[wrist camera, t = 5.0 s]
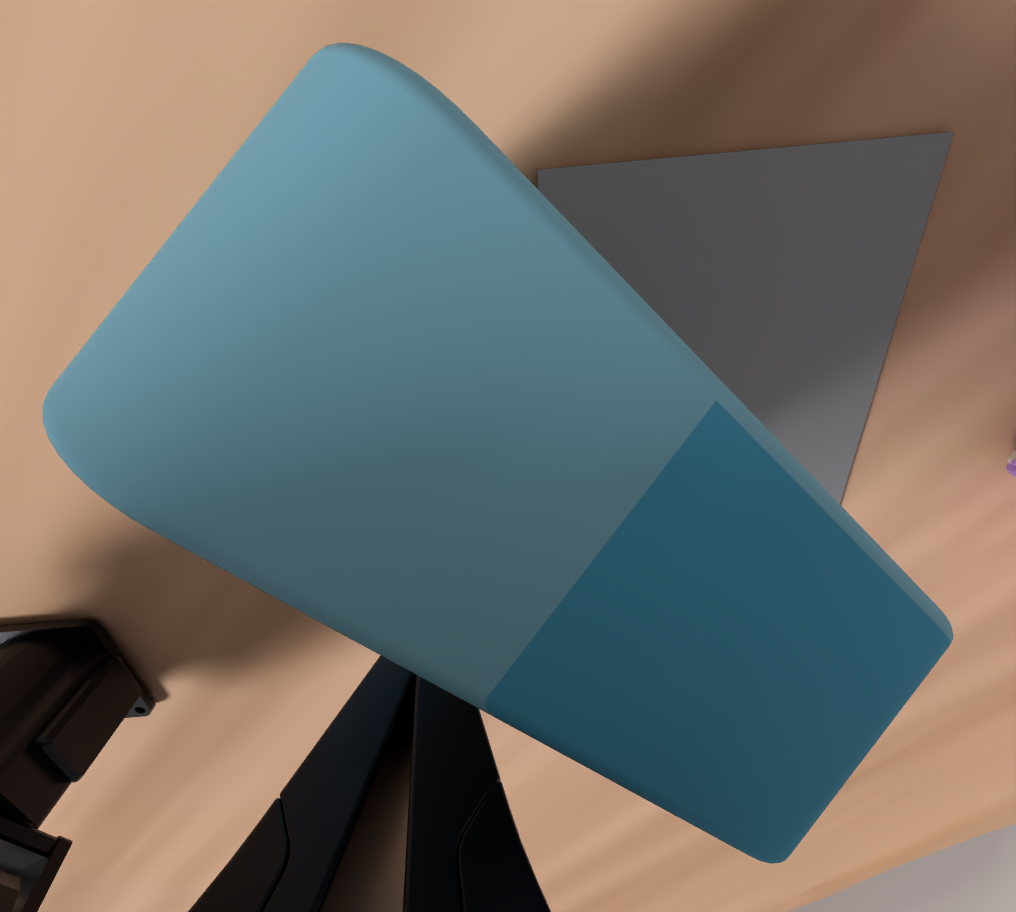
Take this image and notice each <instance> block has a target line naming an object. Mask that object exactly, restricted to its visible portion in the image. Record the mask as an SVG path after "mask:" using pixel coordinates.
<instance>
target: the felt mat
mask: <svg viewBox="0 0 1016 912" xmlns="http://www.w3.org/2000/svg"><path fill="white" fill-rule="evenodd" d="M953 134H954V132H945V133H934V134H923V135H912V136H901V137H890V138H879V139H868V140H857V141H846V142H835V143H824V144H813V145H802V146H791V147H780V148H769V149H758V150H747V151H736V152H725V153H714V154H703V155H693V156H682V157H671V158H660V159H649V160H638V161H627V162H616V163H605V164H594V165H583V166H572V167H561V168H550V169H539V170H537V184H538V190H539V191H540V192H541V193H542V194H543V195H544V197H545V198H546V199H547V200H548V201H549V202H550V203H551V204H552V205H553V206H554V207H555V208H556V209H557V210H558V211H559V212H560V213H561V214H562V215H563V216H564V217H565V218H566V219H567V221H568V222H569V223H570V224H571V225H572V226H573V227H574V228H575V229H576V230H577V231H578V232H579V233H580V234H581V235H582V236H583V237H584V238H585V239H586V240H587V241H588V242H589V243H590V245H591V246H592V247H593V248H594V249H595V250H596V251H597V252H598V253H599V254H600V255H601V256H602V257H603V258H604V259H605V260H606V261H607V262H608V263H609V264H610V265H611V266H612V267H613V269H614V270H615V271H616V272H617V273H618V274H619V275H620V276H621V277H622V278H623V279H624V280H625V281H626V282H627V283H628V284H629V285H630V286H631V287H632V288H633V289H634V290H635V291H636V292H637V294H638V295H639V296H640V297H641V298H642V299H643V300H644V301H645V302H646V303H647V304H648V305H649V306H650V307H651V308H652V309H653V310H654V311H655V312H656V313H657V314H658V315H659V316H660V318H661V319H662V320H663V321H664V322H665V323H666V324H667V325H668V326H669V327H670V328H671V329H672V330H673V331H674V332H675V333H676V334H677V335H678V336H679V337H680V338H681V339H682V340H683V342H684V343H685V344H686V345H687V346H688V347H689V348H690V349H691V350H692V351H693V352H694V353H695V354H696V355H697V356H698V357H699V358H700V359H701V360H702V361H703V362H704V363H705V364H706V366H707V367H708V368H709V369H710V370H711V371H712V372H713V373H714V374H715V375H716V376H717V377H718V378H719V379H720V380H721V381H722V382H723V383H724V384H725V385H726V386H727V387H728V388H729V390H730V391H731V392H732V393H733V394H734V395H735V396H736V397H737V398H738V399H739V400H740V401H741V402H742V403H743V404H744V405H745V406H746V407H747V408H748V409H749V410H750V411H751V412H752V414H753V415H754V416H755V417H756V418H757V419H758V420H759V421H760V422H761V423H762V424H763V425H764V426H765V427H766V428H767V429H768V430H769V431H770V432H771V433H772V434H773V435H774V436H775V438H776V439H777V440H778V441H779V442H780V443H781V444H782V445H783V446H784V447H785V448H786V449H787V450H788V451H789V452H790V453H791V454H792V455H793V456H794V457H795V458H796V459H797V460H798V462H799V463H800V464H801V465H802V466H803V467H804V468H805V469H806V470H807V471H808V472H809V473H810V474H811V475H812V476H813V477H814V478H815V479H816V480H817V481H818V482H819V483H820V484H821V486H822V487H823V488H824V489H825V490H826V491H827V492H828V493H829V494H830V495H831V496H832V497H833V498H834V499H835V500H836V501H837V502H838V503H839V504H840V502H841V499H842V496H843V493H844V489H845V486H846V483H847V480H848V476H849V473H850V470H851V466H852V463H853V460H854V457H855V453H856V450H857V447H858V444H859V440H860V437H861V434H862V431H863V427H864V424H865V421H866V418H867V414H868V411H869V408H870V405H871V401H872V398H873V395H874V392H875V388H876V385H877V382H878V378H879V375H880V372H881V369H882V365H883V362H884V359H885V356H886V352H887V349H888V346H889V343H890V339H891V336H892V333H893V330H894V326H895V323H896V320H897V317H898V313H899V310H900V307H901V304H902V300H903V297H904V294H905V291H906V287H907V284H908V281H909V277H910V274H911V271H912V268H913V264H914V261H915V258H916V255H917V251H918V248H919V245H920V242H921V238H922V235H923V232H924V229H925V225H926V222H927V219H928V216H929V212H930V209H931V206H932V203H933V199H934V196H935V193H936V190H937V186H938V183H939V180H940V176H941V173H942V170H943V167H944V163H945V160H946V157H947V154H948V150H949V147H950V144H951V141H952V137H953Z"/></svg>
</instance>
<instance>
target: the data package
mask: <svg viewBox="0 0 1016 912" xmlns="http://www.w3.org/2000/svg"><path fill="white" fill-rule="evenodd" d="M43 424H44V427H45V430H46V432H47V435H48V438H49V440H50V442H51V443H52V445H53V447H54V448H55V450H56V451H57V453H58V455H59V456H60V457H61V459H62V460H63V461H64V462H65V463H66V464H67V466H68V467H69V468H70V469H71V470H72V472H73V473H74V474H76V475H77V476H78V477H79V478H80V479H81V480H82V481H83V482H84V483H85V484H86V485H87V486H88V487H89V488H90V489H92V490H93V491H94V492H95V493H97V494H98V495H99V496H100V497H102V498H103V499H104V500H106V501H107V502H108V503H109V504H111V505H112V506H114V507H115V508H117V509H118V510H120V511H121V512H123V513H124V514H125V515H127V516H128V517H130V518H131V519H133V520H135V521H137V522H138V523H140V524H142V525H143V526H145V527H147V528H148V529H150V530H152V531H154V532H155V533H157V534H159V535H161V536H163V537H165V538H166V539H168V540H170V541H172V542H174V543H176V544H177V545H179V546H181V547H183V548H185V549H187V550H188V551H190V552H192V553H194V554H196V555H198V556H199V557H201V558H203V559H205V560H207V561H209V562H210V563H212V564H214V565H216V566H218V567H220V568H222V569H223V570H225V571H227V572H229V573H231V574H233V575H234V576H236V577H238V578H240V579H242V580H244V581H245V582H247V583H249V584H251V585H253V586H255V587H256V588H258V589H260V590H262V591H264V592H266V593H267V594H269V595H271V596H273V597H275V598H277V599H278V600H280V601H282V602H284V603H286V604H288V605H290V606H291V607H293V608H295V609H297V610H299V611H301V612H302V613H304V614H306V615H308V616H310V617H312V618H313V619H315V620H317V621H319V622H321V623H323V624H324V625H326V626H328V627H330V628H332V629H334V630H335V631H337V632H339V633H341V634H343V635H345V636H346V637H348V638H350V639H352V640H354V641H356V642H358V643H359V644H361V645H363V646H365V647H367V648H369V649H370V650H372V651H374V652H376V653H378V654H380V655H381V656H383V657H385V658H387V659H389V660H391V661H392V662H394V663H396V664H398V665H400V666H402V667H403V668H405V669H407V670H409V671H411V672H413V673H414V674H416V675H418V676H420V677H422V678H424V679H426V680H427V681H429V682H431V683H433V684H435V685H437V686H438V687H440V688H442V689H444V690H446V691H448V692H449V693H451V694H453V695H455V696H457V697H459V698H460V699H462V700H464V701H466V702H468V703H470V704H471V705H473V706H475V707H477V708H479V709H481V710H482V711H484V712H486V713H488V714H490V715H492V716H494V717H495V718H497V719H499V720H501V721H503V722H505V723H506V724H508V725H510V726H512V727H514V728H516V729H517V730H519V731H521V732H523V733H525V734H527V735H528V736H530V737H532V738H534V739H536V740H538V741H539V742H541V743H543V744H545V745H547V746H549V747H550V748H552V749H554V750H556V751H558V752H560V753H562V754H563V755H565V756H567V757H569V758H571V759H573V760H574V761H576V762H578V763H580V764H582V765H584V766H585V767H587V768H589V769H591V770H593V771H595V772H596V773H598V774H600V775H602V776H604V777H606V778H607V779H609V780H611V781H613V782H615V783H617V784H618V785H620V786H622V787H624V788H626V789H628V790H630V791H631V792H633V793H635V794H637V795H639V796H641V797H642V798H644V799H646V800H648V801H650V802H652V803H653V804H655V805H657V806H659V807H661V808H663V809H664V810H666V811H668V812H670V813H672V814H674V815H675V816H677V817H679V818H681V819H683V820H685V821H686V822H688V823H690V824H692V825H694V826H696V827H697V828H699V829H701V830H703V831H705V832H707V833H709V834H710V835H712V836H714V837H716V838H718V839H720V840H721V841H723V842H725V843H727V844H729V845H731V846H732V847H734V848H736V849H738V850H740V851H742V852H743V853H745V854H747V855H749V856H751V857H753V858H755V859H757V860H760V861H763V862H767V863H780V862H783V861H785V860H786V859H787V858H788V857H789V856H790V854H791V853H792V852H793V850H794V849H795V848H796V847H797V845H798V844H799V843H800V841H801V840H802V839H803V837H804V836H805V835H806V833H807V832H808V831H809V829H810V828H811V827H812V826H813V824H814V823H815V822H816V820H817V819H818V818H819V816H820V815H821V814H822V812H823V811H824V810H825V808H826V807H827V806H828V805H829V803H830V802H831V801H832V799H833V798H834V797H835V795H836V794H837V793H838V791H839V790H840V789H841V787H842V786H843V785H844V783H845V782H846V781H847V780H848V778H849V777H850V776H851V774H852V773H853V772H854V770H855V769H856V768H857V766H858V765H859V764H860V762H861V761H862V760H863V759H864V757H865V756H866V755H867V753H868V752H869V751H870V749H871V748H872V747H873V745H874V744H875V743H876V741H877V740H878V739H879V737H880V736H881V735H882V734H883V732H884V731H885V730H886V728H887V727H888V726H889V724H890V723H891V722H892V720H893V719H894V718H895V716H896V715H897V714H898V713H899V711H900V710H901V709H902V707H903V706H904V705H905V703H906V702H907V701H908V699H909V698H910V697H911V695H912V694H913V693H914V692H915V690H916V689H917V688H918V686H919V685H920V684H921V682H922V681H923V680H924V678H925V677H926V676H927V674H928V673H929V672H930V670H931V669H932V668H933V667H934V665H935V664H936V663H937V661H938V660H939V659H940V657H941V656H942V655H943V653H944V652H945V651H946V649H947V648H948V647H949V645H950V644H951V642H952V640H953V631H952V627H951V624H950V622H949V621H948V619H947V617H946V616H945V615H944V613H943V612H942V611H941V610H940V609H939V608H938V607H937V606H936V604H935V603H934V602H933V601H932V600H931V599H930V598H929V597H928V596H927V595H926V594H925V593H924V592H923V591H922V590H921V589H920V588H919V587H918V586H917V585H916V584H915V583H914V582H913V580H912V579H911V578H910V577H909V576H908V575H907V574H906V573H905V572H904V571H903V570H902V569H901V568H900V567H899V566H898V565H897V564H896V563H895V562H894V561H893V560H892V559H891V558H890V556H889V555H888V554H887V553H886V552H885V551H884V550H883V549H882V548H881V547H880V546H879V545H878V544H877V543H876V542H875V541H874V540H873V539H872V538H871V537H870V536H869V535H868V534H867V532H866V531H865V530H864V529H863V528H862V527H861V526H860V525H859V524H858V523H857V522H856V521H855V520H854V519H853V518H852V517H851V516H850V515H849V514H848V513H847V512H846V511H845V510H844V508H843V507H842V506H841V505H840V504H839V503H838V502H837V501H836V500H835V499H834V498H833V497H832V496H831V495H830V494H829V493H828V492H827V491H826V490H825V489H824V488H823V487H822V486H821V484H820V483H819V482H818V481H817V480H816V479H815V478H814V477H813V476H812V475H811V474H810V473H809V472H808V471H807V470H806V469H805V468H804V467H803V466H802V465H801V464H800V463H799V462H798V460H797V459H796V458H795V457H794V456H793V455H792V454H791V453H790V452H789V451H788V450H787V449H786V448H785V447H784V446H783V445H782V444H781V443H780V442H779V441H778V440H777V439H776V438H775V436H774V435H773V434H772V433H771V432H770V431H769V430H768V429H767V428H766V427H765V426H764V425H763V424H762V423H761V422H760V421H759V420H758V419H757V418H756V417H755V416H754V415H753V414H752V412H751V411H750V410H749V409H748V408H747V407H746V406H745V405H744V404H743V403H742V402H741V401H740V400H739V399H738V398H737V397H736V396H735V395H734V394H733V393H732V392H731V391H730V390H729V388H728V387H727V386H726V385H725V384H724V383H723V382H722V381H721V380H720V379H719V378H718V377H717V376H716V375H715V374H714V373H713V372H712V371H711V370H710V369H709V368H708V367H707V366H706V364H705V363H704V362H703V361H702V360H701V359H700V358H699V357H698V356H697V355H696V354H695V353H694V352H693V351H692V350H691V349H690V348H689V347H688V346H687V345H686V344H685V343H684V342H683V340H682V339H681V338H680V337H679V336H678V335H677V334H676V333H675V332H674V331H673V330H672V329H671V328H670V327H669V326H668V325H667V324H666V323H665V322H664V321H663V320H662V319H661V318H660V316H659V315H658V314H657V313H656V312H655V311H654V310H653V309H652V308H651V307H650V306H649V305H648V304H647V303H646V302H645V301H644V300H643V299H642V298H641V297H640V296H639V295H638V294H637V292H636V291H635V290H634V289H633V288H632V287H631V286H630V285H629V284H628V283H627V282H626V281H625V280H624V279H623V278H622V277H621V276H620V275H619V274H618V273H617V272H616V271H615V270H614V269H613V267H612V266H611V265H610V264H609V263H608V262H607V261H606V260H605V259H604V258H603V257H602V256H601V255H600V254H599V253H598V252H597V251H596V250H595V249H594V248H593V247H592V246H591V245H590V243H589V242H588V241H587V240H586V239H585V238H584V237H583V236H582V235H581V234H580V233H579V232H578V231H577V230H576V229H575V228H574V227H573V226H572V225H571V224H570V223H569V222H568V221H567V219H566V218H565V217H564V216H563V215H562V214H561V213H560V212H559V211H558V210H557V209H556V208H555V207H554V206H553V205H552V204H551V203H550V202H549V201H548V200H547V199H546V198H545V197H544V195H543V194H542V193H541V192H540V191H539V190H538V189H537V188H536V187H535V186H534V185H533V184H532V183H531V182H530V181H529V180H528V179H527V178H526V177H525V176H524V175H523V174H522V173H521V171H520V170H519V169H518V168H517V167H516V166H515V165H514V164H513V163H512V162H511V161H510V160H509V159H508V158H507V157H506V156H505V155H504V154H503V153H502V152H501V151H500V150H499V149H498V147H497V146H496V145H495V144H494V143H493V142H492V141H491V140H490V139H489V138H488V137H487V136H486V135H485V134H484V133H483V132H482V131H481V130H480V129H479V128H478V127H477V126H476V125H475V124H474V123H473V122H472V121H471V120H470V119H469V118H468V117H467V116H466V115H465V114H464V113H463V112H462V111H461V110H460V109H459V108H458V107H457V106H456V105H455V104H454V103H453V102H452V101H451V100H449V99H448V98H447V97H446V96H445V95H444V94H443V93H441V92H440V91H439V90H438V89H437V88H436V87H434V86H433V85H432V84H430V83H429V82H428V81H426V80H425V79H424V78H422V77H421V76H420V75H419V74H417V73H416V72H414V71H413V70H411V69H409V68H408V67H406V66H405V65H403V64H402V63H400V62H398V61H397V60H395V59H393V58H391V57H389V56H387V55H385V54H383V53H381V52H379V51H376V50H373V49H371V48H368V47H365V46H362V45H356V44H349V43H338V44H333V45H328V46H326V47H324V48H322V49H321V50H319V51H318V52H317V53H315V54H314V55H313V56H312V57H311V58H310V60H309V61H308V62H307V64H306V65H305V66H304V67H303V69H302V70H301V71H300V72H299V74H298V75H297V76H296V77H295V79H294V80H293V81H292V83H291V84H290V85H289V86H288V88H287V89H286V90H285V91H284V93H283V94H282V95H281V96H280V98H279V99H278V100H277V102H276V103H275V104H274V105H273V107H272V108H271V109H270V110H269V112H268V113H267V114H266V115H265V117H264V118H263V119H262V121H261V122H260V123H259V124H258V126H257V127H256V128H255V129H254V131H253V132H252V133H251V135H250V136H249V137H248V138H247V140H246V141H245V142H244V143H243V145H242V146H241V147H240V148H239V150H238V151H237V152H236V154H235V155H234V156H233V157H232V159H231V160H230V161H229V162H228V164H227V165H226V166H225V167H224V169H223V170H222V171H221V173H220V174H219V175H218V176H217V178H216V179H215V180H214V181H213V183H212V184H211V185H210V186H209V188H208V189H207V190H206V192H205V193H204V194H203V195H202V197H201V198H200V199H199V200H198V202H197V203H196V204H195V205H194V207H193V208H192V209H191V211H190V212H189V213H188V214H187V216H186V217H185V218H184V219H183V221H182V222H181V223H180V225H179V226H178V227H177V228H176V230H175V231H174V232H173V233H172V235H171V236H170V237H169V238H168V240H167V241H166V242H165V244H164V245H163V246H162V247H161V249H160V250H159V251H158V252H157V254H156V255H155V256H154V257H153V259H152V260H151V261H150V263H149V264H148V265H147V266H146V268H145V269H144V270H143V271H142V273H141V274H140V275H139V276H138V278H137V279H136V280H135V282H134V283H133V284H132V285H131V287H130V288H129V289H128V290H127V292H126V293H125V294H124V295H123V297H122V298H121V299H120V301H119V302H118V303H117V304H116V306H115V307H114V308H113V309H112V311H111V312H110V313H109V314H108V316H107V317H106V318H105V320H104V321H103V322H102V323H101V325H100V326H99V327H98V328H97V330H96V331H95V332H94V334H93V335H92V336H91V337H90V339H89V340H88V341H87V342H86V344H85V345H84V346H83V347H82V349H81V350H80V351H79V353H78V354H77V355H76V356H75V358H74V359H73V360H72V361H71V363H70V364H69V365H68V366H67V368H66V369H65V370H64V372H63V373H62V374H61V375H60V377H59V378H58V379H57V380H56V382H55V383H54V384H53V385H52V387H51V388H50V390H49V391H48V393H47V396H46V398H45V400H44V403H43Z"/></svg>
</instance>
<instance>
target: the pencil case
mask: <svg viewBox="0 0 1016 912" xmlns="http://www.w3.org/2000/svg"><path fill="white" fill-rule="evenodd" d="M1006 469H1007V471H1008V472H1009V473H1011V474H1012V475H1014V476H1016V450H1015V451H1014V452H1013V453H1012V454H1011V455H1010V456H1009V457H1008V465H1007V467H1006Z"/></svg>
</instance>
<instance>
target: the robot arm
mask: <svg viewBox="0 0 1016 912" xmlns="http://www.w3.org/2000/svg"><path fill="white" fill-rule="evenodd" d="M155 705H156V704H155V702H154V700H153V699H152V697H151V696H150V694H149V693H148V691H147V690H146V689H145V687H144V686H143V684H142V683H141V681H140V680H139V678H138V677H137V676H136V674H135V673H134V671H133V670H132V668H131V667H130V665H129V664H128V662H127V661H126V660H125V658H124V657H123V655H122V654H121V652H120V651H119V649H118V648H117V647H116V645H115V644H114V642H113V641H112V639H111V638H110V636H109V635H108V633H107V632H106V631H105V629H104V628H103V626H102V625H101V624H100V623H98V622H97V621H95V620H91V619H81V620H69V621H57V622H45V623H33V624H21V625H9V626H0V912H37V911H38V909H39V907H40V905H41V903H42V901H43V899H44V898H45V896H46V894H47V892H48V890H49V888H50V886H51V884H52V882H53V880H54V878H55V876H56V874H57V872H58V870H59V868H60V866H61V864H62V862H63V860H64V858H65V856H66V854H67V852H68V851H69V849H70V847H71V845H72V841H71V840H69V839H67V838H64V837H62V836H58V837H54V836H52V835H49V834H47V833H44V832H42V831H40V830H37V829H38V828H39V827H40V825H41V824H42V822H43V821H44V820H45V818H46V817H47V816H48V814H49V813H50V811H51V810H52V809H53V807H54V806H55V805H56V803H57V802H58V800H59V799H60V798H61V796H62V795H63V794H64V792H65V791H66V789H67V788H68V787H69V785H70V784H71V783H72V782H77V781H79V780H80V779H81V778H82V776H83V775H84V774H85V772H86V771H87V770H88V768H89V767H90V765H91V764H92V763H93V761H94V760H95V758H96V757H97V756H98V754H99V753H100V751H101V750H102V749H103V747H104V746H105V744H106V743H107V742H108V740H109V739H110V737H111V736H112V735H113V733H114V732H115V730H116V729H117V728H118V726H119V725H120V723H121V722H122V721H123V719H124V718H129V717H141V716H148V715H149V714H150V713H151V712H152V710H153V709H154V707H155ZM188 912H551V910H550V908H549V906H548V904H547V901H546V899H545V897H544V895H543V892H542V890H541V888H540V886H539V884H538V881H537V879H536V876H535V874H534V872H533V869H532V867H531V864H530V862H529V859H528V857H527V855H526V852H525V850H524V847H523V845H522V843H521V840H520V837H519V834H518V831H517V828H516V825H515V822H514V819H513V816H512V813H511V810H510V808H509V804H508V801H507V798H506V795H505V791H504V788H503V785H502V782H501V781H500V776H499V773H498V769H497V766H496V763H495V760H494V756H493V753H492V750H491V746H490V743H489V740H488V737H487V733H486V730H485V727H484V724H483V720H482V717H481V714H480V711H479V708H477V707H475V706H473V705H471V704H470V703H468V702H466V701H464V700H462V699H460V698H459V697H457V696H455V695H453V694H451V693H449V692H448V691H446V690H444V689H442V688H440V687H438V686H437V685H435V684H433V683H431V682H429V681H427V680H426V679H424V678H422V677H420V676H418V675H416V674H414V673H413V672H411V671H409V670H407V669H405V668H403V667H402V666H400V665H398V664H396V663H394V662H392V661H391V660H389V659H387V658H385V657H383V656H380V657H379V658H378V660H377V661H376V662H375V664H374V665H373V667H372V668H371V669H370V671H369V672H368V673H367V675H366V676H365V678H364V679H363V680H362V682H361V683H360V684H359V686H358V687H357V689H356V690H355V691H354V693H353V694H352V695H351V697H350V698H349V700H348V701H347V702H346V704H345V705H344V706H343V708H342V709H341V711H340V712H339V713H338V715H337V716H336V717H335V719H334V720H333V722H332V723H331V724H330V726H329V727H328V728H327V730H326V731H325V733H324V734H323V735H322V737H321V738H320V739H319V741H318V742H317V744H316V745H315V746H314V748H313V749H312V750H311V752H310V753H309V755H308V756H307V757H306V759H305V760H304V761H303V763H302V764H301V766H300V767H299V768H298V770H297V771H296V772H295V774H294V775H293V777H292V778H291V779H290V781H289V782H288V783H287V785H286V786H285V787H284V789H283V790H282V792H281V793H280V798H277V799H276V800H275V801H274V802H273V804H272V805H271V806H270V808H269V809H268V811H267V812H266V813H265V815H264V816H263V817H262V819H261V820H260V821H259V823H258V824H257V826H256V827H255V828H254V829H253V831H252V832H251V833H250V835H249V836H248V837H247V839H246V840H245V841H244V843H243V844H242V845H241V847H240V848H239V849H238V851H237V852H236V853H235V855H234V856H233V857H232V858H231V860H230V861H229V862H228V864H227V865H226V866H225V867H224V869H223V870H222V871H221V872H220V873H219V875H218V876H217V877H216V878H215V880H214V881H213V882H212V883H211V884H210V886H209V887H208V888H207V889H206V891H205V892H204V893H203V894H202V895H201V897H200V898H199V899H198V900H197V902H196V903H195V904H194V905H193V906H192V908H191V909H190V910H189V911H188Z"/></svg>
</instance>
